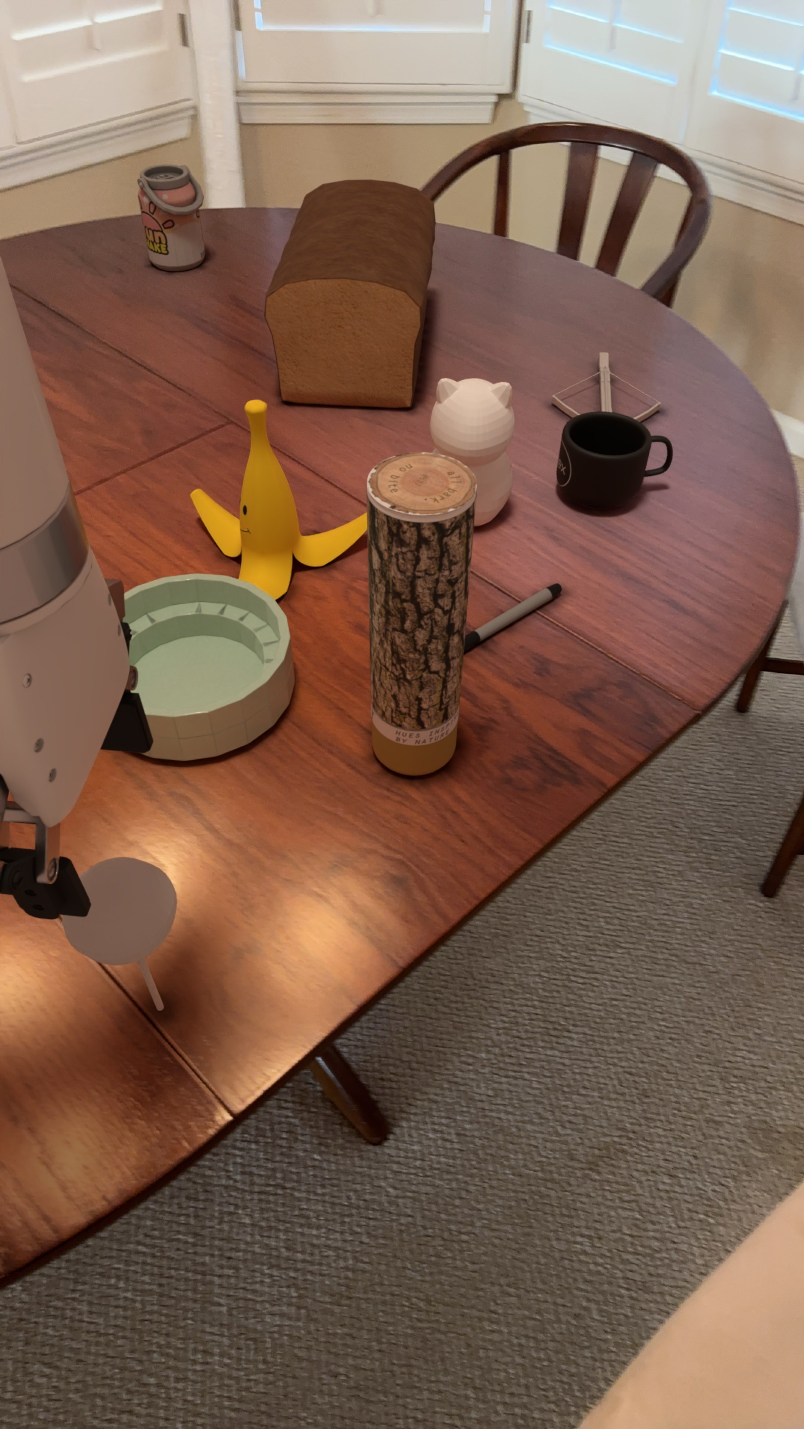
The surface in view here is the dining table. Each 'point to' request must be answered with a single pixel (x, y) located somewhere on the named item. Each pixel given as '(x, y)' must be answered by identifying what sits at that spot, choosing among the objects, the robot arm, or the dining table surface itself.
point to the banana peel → (269, 519)
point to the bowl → (208, 662)
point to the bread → (353, 295)
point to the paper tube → (418, 605)
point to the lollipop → (124, 915)
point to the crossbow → (604, 391)
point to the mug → (605, 459)
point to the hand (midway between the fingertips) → (92, 822)
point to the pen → (511, 615)
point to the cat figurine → (477, 437)
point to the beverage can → (171, 216)
